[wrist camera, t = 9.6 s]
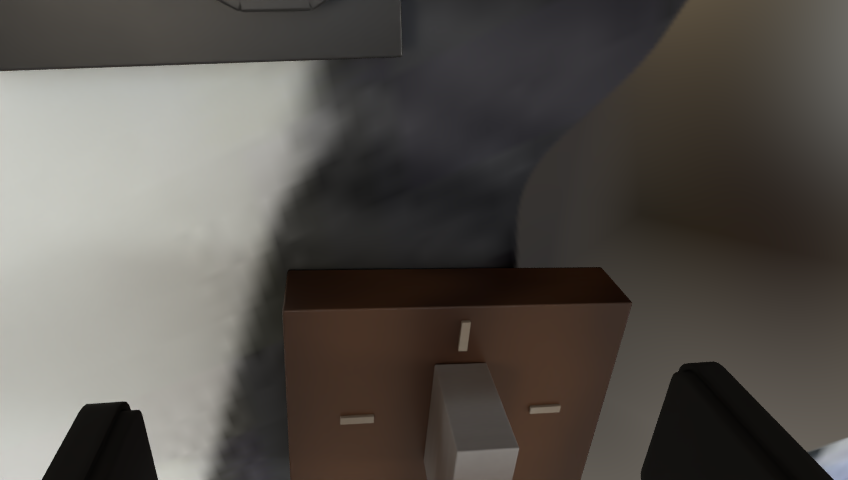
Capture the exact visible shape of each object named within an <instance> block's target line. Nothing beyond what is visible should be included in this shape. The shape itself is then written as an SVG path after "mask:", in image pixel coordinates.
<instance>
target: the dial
mask: <svg viewBox="0 0 848 480" xmlns="http://www.w3.org/2000/svg"><path fill="white" fill-rule="evenodd" d="M518 451H519V446H518V444H517V441H516V439H515V436H514V433H513V431H512V428H511V426H510V423H509V420H508V418H507V415H506V413H505V410H504V408H503V405H502V402H501V400H500V397H499V395H498V392H497V389H496V387H495V384H494V382H493V379H492V376H491V374H490V371H489V369H488V366H487V364H486V363H472V364H443V365H435V367H434V376H433V384H432V393H431V401H430V410H429V419H428V427H427V436H426V445H425V453H424V465H425V470H426V476H427V480H512V478H513V474H514V469H515V465H516V460H517V456H518Z"/></svg>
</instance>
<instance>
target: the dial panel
mask: <svg viewBox="0 0 848 480" xmlns="http://www.w3.org/2000/svg"><path fill="white" fill-rule="evenodd" d="M631 306H632V302H631V301H630V300H629V298H628V297H627V296H626V295H625V294H624V293H623V292H622V291H621V289H620V288H619V287H618V286H617V285H616V284H615V283H614V282H613V280H612V279H611V278H610V277H609V276H608V275H607V274H606V272H605V271H604V270H603V269H602V268H600V267H590V268H589V267H584V268H583V267H580V268H579V267H578V268H477V269H376V270H289V271H288V273H287V280H286V287H285V295H284V302H283V309H282V317H283V337H284V358H285V379H286V399H287V420H288V440H289V461H290V480H427V476H426V470H425V465H424V453H425V445H426V436H427V427H428V419H429V410H430V401H431V393H432V384H433V376H434V367H435V365H443V364H472V363H486V364H487V366H488V369H489V371H490V374H491V376H492V379H493V382H494V384H495V387H496V389H497V392H498V395H499V397H500V400H501V402H502V405H503V408H504V410H505V413H506V415H507V418H508V420H509V423H510V426H511V428H512V431H513V433H514V436H515V439H516V441H517V444H518V446H519V451H518V456H517V460H516V465H515V469H514V474H513V478H512V480H581V476H582V473H583V470H584V466H585V462H586V459H587V455H588V453H589V449H590V446H591V442H592V439H593V436H594V432H595V429H596V425H597V422H598V418H599V415H600V412H601V408H602V405H603V402H604V398H605V394H606V391H607V388H608V384H609V381H610V378H611V374H612V370H613V367H614V364H615V360H616V357H617V353H618V350H619V347H620V343H621V340H622V337H623V333H624V330H625V327H626V323H627V320H628V316H629V313H630V309H631Z"/></svg>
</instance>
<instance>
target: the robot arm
mask: <svg viewBox="0 0 848 480" xmlns="http://www.w3.org/2000/svg"><path fill="white" fill-rule="evenodd" d="M42 480H158V478H157V474H156V470H155V465H154V461H153V457H152V453H151V449H150V445H149V441H148V436H147V432H146V428H145V424H144V420H143V416H142V413H141V411H140V410H131V409H130V406H129V404H128V403H127V402H111V403H96V404H86V405H85V406H83V407H82V409H81V410H80V412H79V413H78V415H77V417H76V419H75V420H74V422H73V424H72V426H71V428H70V430H69V431H68V433H67V435H66V437H65V439H64V440H63V442H62V444H61V446H60V448H59V449H58V451H57V453H56V455H55V457H54V459H53V460H52V462H51V464H50V466H49V468H48V469H47V471H46V473H45V475H44V477H43V479H42ZM641 480H834V479H833V478H832V477H831V476H830V475H829V474H828V473H827V472H826V471H825V470H824V469H823V468H822V467H821V466H820V465H819V464H818V463H817V462H816V461H815V460H814V459H813V458H812V457H811V456H810V455H809V454H808V453H807V452H806V451H805V450H804V449H803V448H802V447H801V446H800V445H799V444H798V443H797V442H796V441H795V440H794V439H793V438H792V437H791V435H790V434H788V433H787V431H785V429H784V428H783V427H782V426H781V425H780V424H779V423H778V422H777V421H776V420H775V419H774V418H773V417H772V416H771V415H770V414H769V413H768V412H767V411H766V410H765V409H764V408H763V407H762V406H761V405H760V404H759V403H758V402H757V401H756V400H755V399H754V398H753V397H752V396H751V395H750V394H749V393H748V392H747V391H746V390H745V388H744V387H743V386H742V385H741V384H739V382H738V381H737V380H736V379H735V378H734V377H733V376H732V375H731V374H730V373H729V372H728V371H727V370H726V369H725V368H724V367H723V366H722V365H720V364H719V363H717V362H700V363H688V364H683V365H682V366H681V367H680V369H679V371H678V372H676V373H675V374H673V377H672V379H671V382H670V385H669V388H668V391H667V394H666V397H665V400H664V403H663V406H662V409H661V412H660V415H659V418H658V421H657V424H656V427H655V430H654V433H653V436H652V440H651V443H650V446H649V449H648V452H647V455H646V458H645V461H644V464H643V467H642V471H641Z"/></svg>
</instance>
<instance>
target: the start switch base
mask: <svg viewBox="0 0 848 480" xmlns="http://www.w3.org/2000/svg"><path fill="white" fill-rule="evenodd" d="M402 55H403V50H402V13H401V0H0V71H18V70H47V69H75V68H104V67H132V66H161V65H189V64H218V63H246V62H275V61H303V60H332V59H360V58H388V57H401V56H402Z"/></svg>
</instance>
